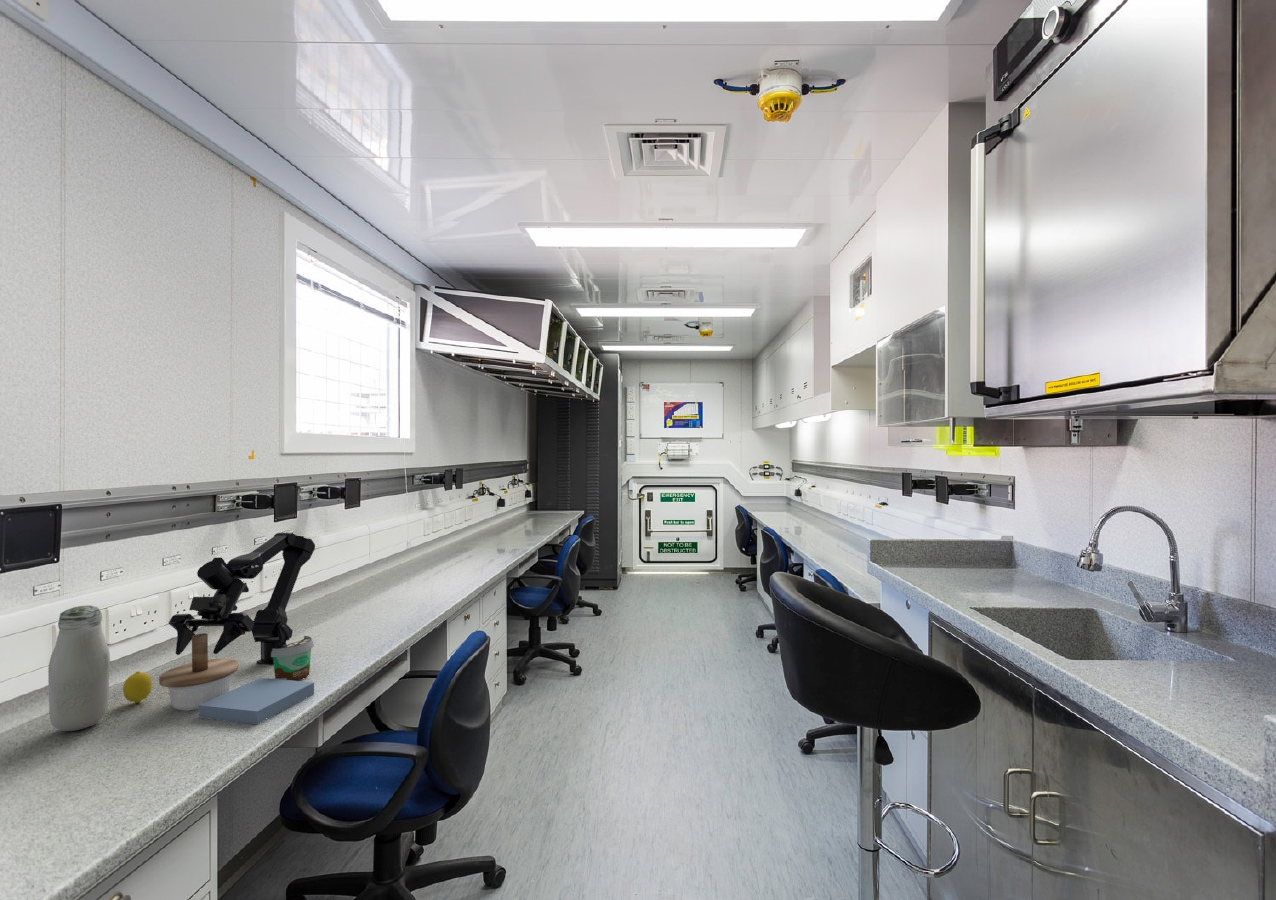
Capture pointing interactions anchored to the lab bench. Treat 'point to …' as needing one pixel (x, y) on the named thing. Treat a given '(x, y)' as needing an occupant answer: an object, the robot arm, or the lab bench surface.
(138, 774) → the lab bench surface
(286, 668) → the food container
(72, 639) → the glass bottle
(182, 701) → the ramekin
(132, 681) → the lemon
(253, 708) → the mat
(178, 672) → the lid
